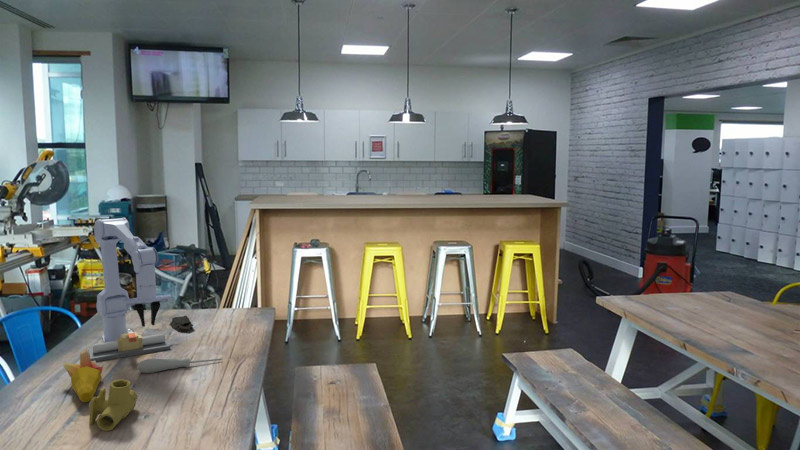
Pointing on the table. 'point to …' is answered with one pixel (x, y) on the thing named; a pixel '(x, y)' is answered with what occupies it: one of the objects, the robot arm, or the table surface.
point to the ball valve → (112, 405)
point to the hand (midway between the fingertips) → (148, 325)
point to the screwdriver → (165, 364)
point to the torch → (84, 376)
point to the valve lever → (131, 335)
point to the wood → (181, 324)
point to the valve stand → (128, 347)
